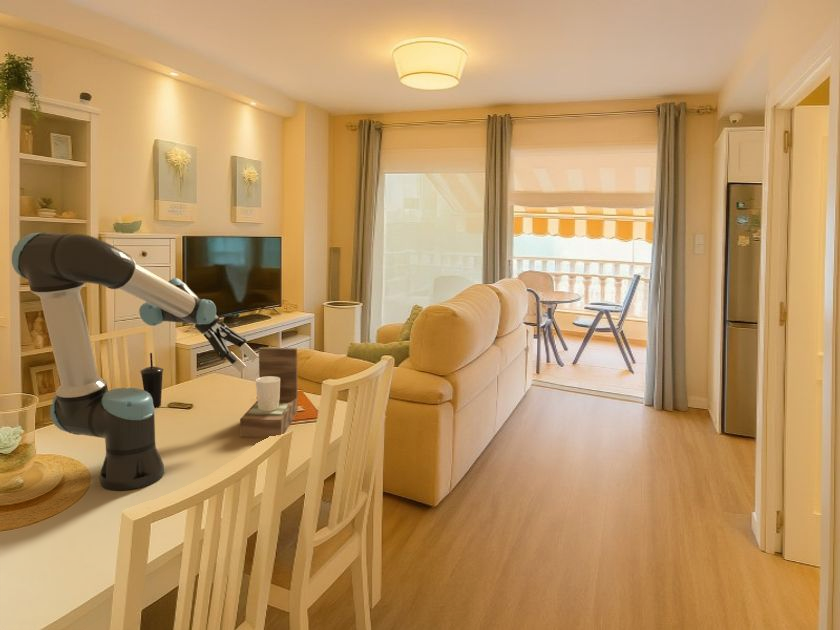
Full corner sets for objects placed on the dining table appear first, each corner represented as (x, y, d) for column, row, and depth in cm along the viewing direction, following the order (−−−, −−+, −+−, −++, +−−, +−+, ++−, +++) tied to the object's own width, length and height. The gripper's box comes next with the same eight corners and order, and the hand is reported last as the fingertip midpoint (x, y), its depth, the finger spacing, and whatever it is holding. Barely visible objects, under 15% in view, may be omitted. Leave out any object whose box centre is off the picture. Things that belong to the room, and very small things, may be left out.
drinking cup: (169, 405, 206) (166, 352, 203) (150, 410, 200) (147, 356, 197) (157, 401, 210) (154, 349, 207) (137, 406, 204) (134, 353, 201)
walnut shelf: (281, 438, 177) (280, 365, 174) (240, 437, 177) (238, 363, 174) (297, 413, 201) (296, 348, 197) (261, 412, 201) (260, 347, 197)
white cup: (274, 412, 182) (273, 383, 180) (252, 410, 183) (251, 381, 182) (284, 405, 189) (284, 377, 188) (263, 403, 191) (262, 375, 189)
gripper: (209, 319, 194) (253, 362, 197) (178, 332, 170) (229, 381, 172) (224, 304, 193) (267, 348, 196) (195, 316, 169) (245, 365, 171)
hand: (249, 363), depth 184 cm, fingers open, 13 cm apart
